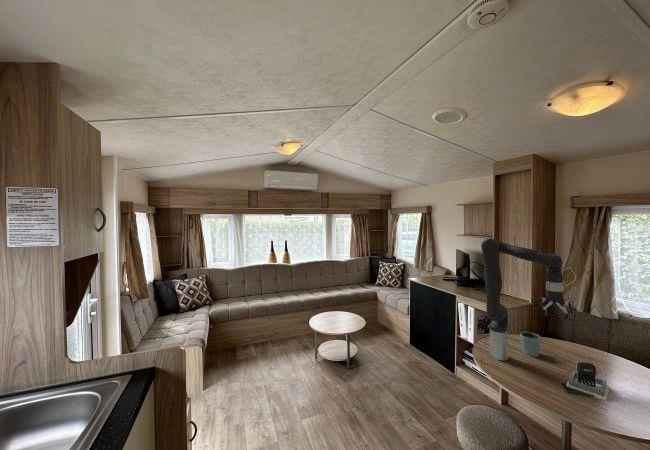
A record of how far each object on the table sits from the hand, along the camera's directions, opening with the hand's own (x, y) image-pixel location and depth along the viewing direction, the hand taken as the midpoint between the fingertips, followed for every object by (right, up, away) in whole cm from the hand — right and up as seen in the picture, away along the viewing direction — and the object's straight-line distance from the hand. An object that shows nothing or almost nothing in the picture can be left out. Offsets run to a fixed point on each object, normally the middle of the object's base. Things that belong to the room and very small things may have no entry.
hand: (555, 317), depth 149 cm
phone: (-3, -31, -18) cm, 36 cm away
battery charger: (+2, -29, -16) cm, 33 cm away
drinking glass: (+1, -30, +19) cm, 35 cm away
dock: (+2, -30, -16) cm, 34 cm away
